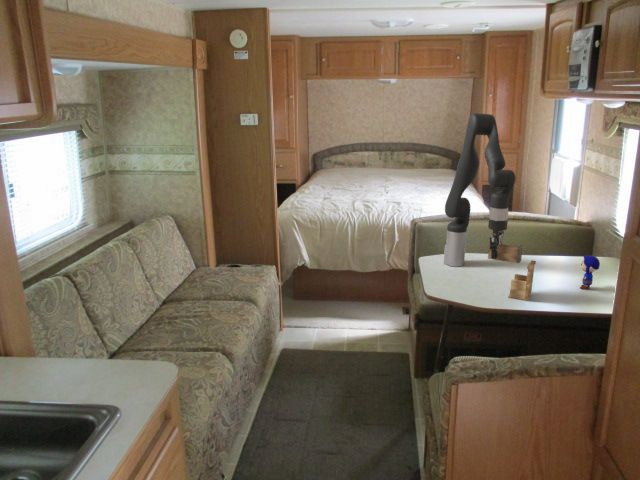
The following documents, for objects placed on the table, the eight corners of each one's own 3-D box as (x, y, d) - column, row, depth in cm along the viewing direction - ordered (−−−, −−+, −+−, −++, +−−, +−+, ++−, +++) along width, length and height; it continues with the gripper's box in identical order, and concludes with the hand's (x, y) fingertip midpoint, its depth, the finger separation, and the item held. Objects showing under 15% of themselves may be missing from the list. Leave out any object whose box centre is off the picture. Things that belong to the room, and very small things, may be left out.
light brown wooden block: (487, 258, 231) (489, 243, 229) (490, 256, 234) (491, 240, 232) (519, 263, 225) (520, 247, 223) (521, 260, 228) (522, 245, 226)
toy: (580, 282, 246) (585, 250, 241) (599, 286, 241) (603, 253, 237) (573, 290, 236) (578, 258, 231) (592, 294, 231) (597, 261, 227)
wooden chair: (507, 297, 229) (511, 264, 224) (512, 290, 236) (515, 257, 232) (527, 301, 225) (531, 267, 221) (532, 294, 232) (535, 260, 228)
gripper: (493, 213, 234) (490, 251, 239) (484, 220, 223) (481, 260, 227) (511, 215, 231) (508, 254, 235) (503, 222, 219) (500, 263, 224)
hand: (495, 256), depth 231 cm, fingers closed on light brown wooden block, 4 cm apart
